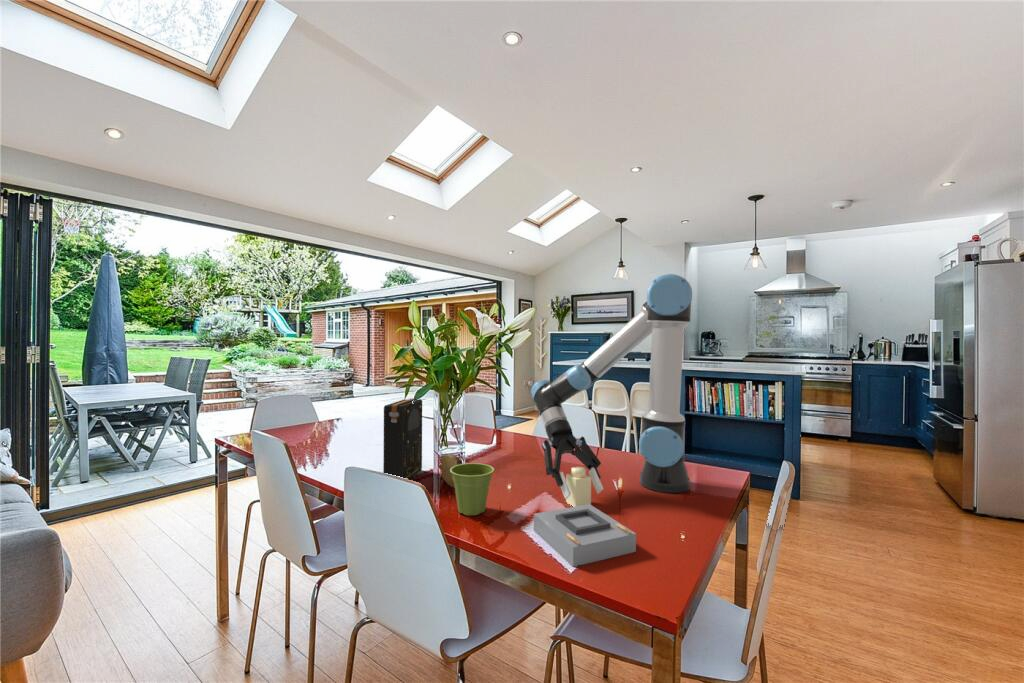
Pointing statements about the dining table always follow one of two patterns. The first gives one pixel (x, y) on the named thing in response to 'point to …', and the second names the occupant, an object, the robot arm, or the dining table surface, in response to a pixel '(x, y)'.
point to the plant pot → (471, 486)
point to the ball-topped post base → (584, 534)
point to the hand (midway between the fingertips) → (584, 493)
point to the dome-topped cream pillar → (579, 487)
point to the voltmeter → (403, 438)
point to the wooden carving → (449, 467)
